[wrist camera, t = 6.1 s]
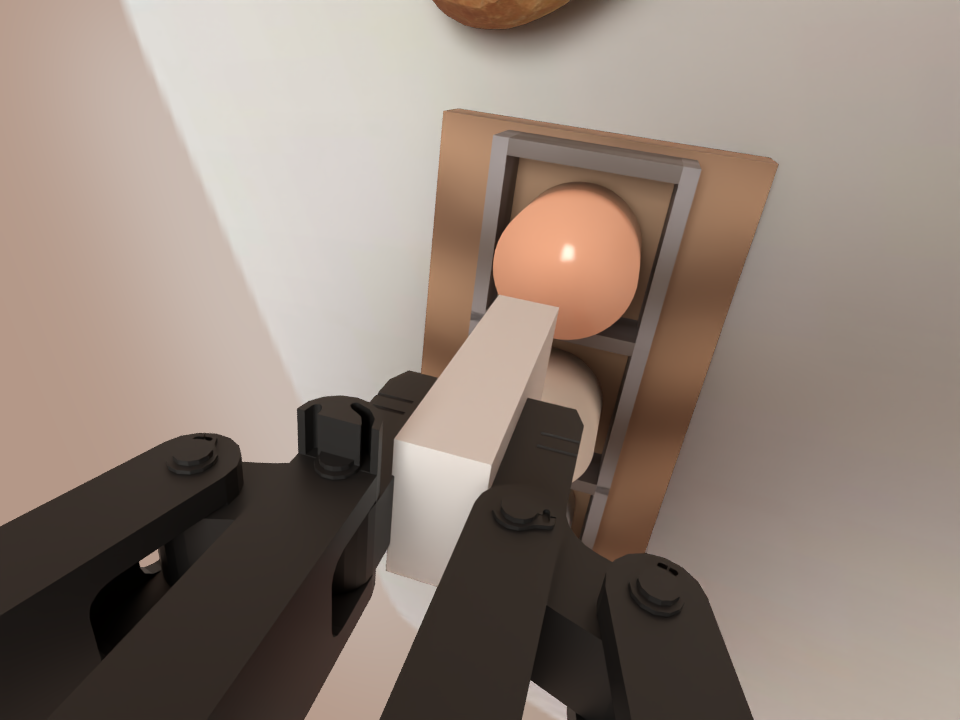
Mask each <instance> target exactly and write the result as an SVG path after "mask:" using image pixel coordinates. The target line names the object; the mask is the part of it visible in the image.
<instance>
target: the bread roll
mask: <svg viewBox="0 0 960 720" xmlns="http://www.w3.org/2000/svg"><path fill="white" fill-rule="evenodd" d="M433 1H434V3H435V4H436V5H437V7H438V8H439V9H440V10H441V11H443V12H444V13H445V14H446V15H447V16H449V17H451V18H453V19H454V20H456V21H458V22H460V23H462V24H464V25H467V26H470V27H475V28H482V29H508V28H512V27H516V26H520V25H523V24H526V23H529V22H531V21H533V20H536V19H538V18H541V17H543V16H545V15H547V14H550V13H551V12H553V11H555V10H556V9H558V8H560V7H561V6H563V5H565V4H566V3H568V2H569V1H571V0H433Z"/></svg>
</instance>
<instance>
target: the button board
mask: <svg viewBox="0 0 960 720" xmlns="http://www.w3.org/2000/svg"><path fill="white" fill-rule="evenodd" d="M778 165H779V164H777V163H776V162H775V161H773V160H772V159H771V158H768V157H762V156H756V155H749V154H743V153H737V152H730V151H724V150H718V149H711V148H705V147H699V146H692V145H686V144H680V143H673V142H667V141H661V140H654V139H648V138H642V137H635V136H629V135H623V134H616V133H610V132H604V131H597V130H591V129H585V128H578V127H572V126H566V125H559V124H553V123H547V122H540V121H534V120H528V119H521V118H515V117H509V116H502V115H496V114H489V113H483V112H477V111H470V110H464V109H453V110H447V111H443V122H442V134H441V145H440V157H439V169H438V181H437V192H436V204H435V216H434V228H433V239H432V251H431V263H430V275H429V286H428V298H427V310H426V321H425V333H424V345H423V357H422V368H421V374H425V375H429V376H433V377H437V378H439V377H440V375H441V374H442V372H443V371H444V370H445V368H446V367H447V366H448V364H449V363H450V361H451V360H452V359H453V357H454V356H455V355H456V353H457V352H458V350H459V349H460V348H461V346H462V345H463V344H464V342H465V341H466V339H467V338H468V337H469V335H470V334H471V333H472V331H473V330H474V328H475V327H476V326H477V324H478V323H479V322H480V320H481V319H482V317H483V316H484V315H485V313H486V312H487V311H488V309H489V308H490V306H491V305H492V304H493V302H494V301H495V300H496V298H497V297H498V292H497V289H496V286H495V281H494V276H493V260H494V254H495V249H496V247H497V244H498V241H499V239H500V237H501V235H502V233H503V231H504V230H505V229H506V227H507V226H508V224H509V223H510V222H511V221H512V220H513V219H514V218H515V217H516V216H517V215H518V214H519V213H520V212H521V211H522V210H523V209H524V208H525V207H526V206H527V205H528V204H529V203H530V202H532V201H533V200H534V199H535V198H536V197H537V196H538V195H540V194H541V193H542V192H544V191H546V190H547V189H549V188H551V187H554V186H556V185H559V184H562V183H568V182H580V181H581V182H590V183H594V184H598V185H601V186H603V187H606V188H608V189H609V190H611V191H613V192H615V193H616V194H617V195H618V196H620V197H621V198H622V199H623V200H624V201H625V202H626V203H627V204H628V205H629V207H630V208H631V209H632V211H633V213H634V215H635V216H636V218H637V221H638V223H639V226H640V230H641V235H642V253H641V262H640V270H639V278H638V284H637V289H636V292H635V294H634V297H633V299H632V301H631V303H630V305H629V307H628V308H627V310H626V311H625V313H624V314H623V315H622V316H621V317H620V318H619V319H618V320H617V321H616V322H615V323H614V324H612V325H611V326H610V327H608V328H607V329H605V330H604V331H602V332H599V333H597V334H595V335H592V336H589V337H586V338H581V339H573V340H560V339H554V338H553V342H552V347H553V348H558V349H561V350H564V351H566V352H569V353H571V354H573V355H574V356H576V357H578V358H579V359H580V360H582V361H583V362H584V363H585V364H586V365H587V366H588V367H589V368H590V369H591V370H592V372H593V373H594V375H595V376H596V378H597V380H598V382H599V384H600V388H601V391H602V409H601V415H600V420H599V426H598V431H597V436H596V442H595V447H594V453H593V457H592V460H591V462H590V464H589V466H588V468H587V469H586V471H585V472H584V473H583V474H582V475H581V476H580V477H579V478H578V479H576V480H575V481H574V482H572V484H571V489H572V490H573V493H574V497H575V510H574V516H573V520H572V525H571V529H572V531H573V532H574V534H575V535H576V536H577V537H578V538H579V539H580V540H581V541H582V542H583V543H584V544H585V545H586V546H587V547H589V548H590V549H592V550H593V551H595V552H596V553H597V554H599V555H601V556H603V557H605V558H606V559H608V560H610V561H612V562H613V561H614V560H615V559H618V558H620V557H622V556H624V555H626V554H635V553H645V550H646V548H647V545H648V542H649V539H650V536H651V533H652V530H653V527H654V524H655V521H656V519H657V516H658V513H659V510H660V507H661V504H662V501H663V498H664V495H665V492H666V490H667V487H668V484H669V481H670V478H671V475H672V472H673V469H674V466H675V463H676V461H677V458H678V455H679V452H680V449H681V446H682V443H683V440H684V437H685V434H686V432H687V429H688V426H689V423H690V420H691V417H692V414H693V411H694V408H695V405H696V402H697V400H698V397H699V394H700V391H701V388H702V385H703V382H704V379H705V376H706V373H707V371H708V368H709V365H710V362H711V359H712V356H713V353H714V350H715V347H716V344H717V342H718V339H719V336H720V333H721V330H722V327H723V324H724V321H725V318H726V315H727V313H728V310H729V307H730V304H731V301H732V298H733V295H734V292H735V289H736V286H737V284H738V281H739V278H740V275H741V272H742V269H743V266H744V263H745V260H746V257H747V254H748V252H749V249H750V246H751V243H752V240H753V237H754V234H755V231H756V228H757V225H758V223H759V220H760V217H761V214H762V211H763V208H764V205H765V202H766V199H767V196H768V194H769V191H770V188H771V185H772V182H773V179H774V176H775V173H776V170H777V167H778Z"/></svg>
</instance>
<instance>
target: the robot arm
mask: <svg viewBox="0 0 960 720" xmlns="http://www.w3.org/2000/svg"><path fill="white" fill-rule="evenodd" d="M558 311H559V307H555V306H550V305H546V304H541V303H536V302H531V301H527V300H522V299H517V298H513V297H508V296H503V295H498V297H497V298H496V300H495V301H494V302H493V304H492V305H491V306H490V308H489V309H488V311H487V312H486V313H485V315H484V316H483V317H482V319H481V320H480V322H479V323H478V324H477V326H476V327H475V328H474V330H473V331H472V333H471V334H470V335H469V337H468V338H467V339H466V341H465V342H464V344H463V345H462V346H461V348H460V349H459V350H458V352H457V353H456V355H455V356H454V357H453V359H452V360H451V361H450V363H449V364H448V366H447V367H446V368H445V370H444V371H443V372H442V374H441V375H440V377H439V378H437V377H433V376H429V375H425V374H421V373H417V372H413V371H407V372H405V373H403V374H400V375H398V376H396V377H394V378H392V379H390V380H389V381H388V382H387V383H386V384H385V385H384V387H383V388H382V389H381V390H380V391H379V392H378V395H376V396H375V397H374V398H373V399H372V400H371V401H370V402H367V401H364V400H362V399H359V398H355V397H348V396H327V397H322V398H318V399H315V400H311V401H308V402H307V403H305V404H304V405H302V406H300V407H299V408H297V421H298V452H299V453H298V454H297V455H296V457H295V458H294V459H293V460H292V461H291V462H290V463H254V462H253V463H252V462H242V457H241V452H240V448H239V445H237V444H236V443H235V442H234V441H233V440H232V439H231V438H228V437H225V436H222V435H218V434H211V433H210V434H209V433H196V434H190V435H183V436H179V437H177V438H174V439H171V440H169V441H166V442H164V443H162V444H160V445H158V446H156V447H154V448H152V449H150V450H148V451H147V452H144V453H142V454H140V455H138V456H136V457H135V458H133V459H131V460H129V461H127V462H125V463H123V464H121V465H119V466H117V467H115V468H113V469H111V470H109V471H107V472H105V473H103V474H102V475H100V476H98V477H96V478H94V479H92V480H90V481H88V482H86V483H84V484H82V485H80V486H78V487H76V488H74V489H72V490H70V491H68V492H67V493H64V494H63V495H61V496H59V497H57V498H55V499H53V500H51V501H49V502H47V503H45V504H43V505H41V506H39V507H37V508H36V509H33V510H31V511H29V512H28V513H26V514H24V515H22V516H20V517H18V518H16V519H14V520H12V521H10V522H8V523H6V524H4V525H2V526H0V720H304V719H305V717H306V715H307V713H308V712H309V710H310V708H311V706H312V704H313V702H314V701H315V699H316V697H317V695H318V693H319V692H320V690H321V688H322V686H323V684H324V682H325V681H326V679H327V677H328V675H329V673H330V671H331V670H332V668H333V666H334V664H335V662H336V660H337V658H338V657H339V655H340V653H341V651H342V649H343V648H344V646H345V644H346V642H347V640H348V638H349V637H350V635H351V633H352V631H353V629H354V628H355V626H356V624H357V622H358V620H359V618H360V617H361V615H362V612H363V611H364V609H365V607H366V606H367V604H368V602H369V600H370V598H371V596H372V593H373V590H374V586H375V574H376V568H377V566H378V564H379V562H380V561H381V559H382V557H383V555H384V554H385V552H386V550H387V561H386V571H388V572H392V573H395V574H398V575H401V576H404V577H408V578H411V579H414V580H417V581H420V582H424V583H427V584H430V585H433V586H436V587H437V589H436V591H435V594H434V596H433V598H432V601H431V603H430V605H429V608H428V610H427V612H426V614H425V617H424V619H423V621H422V624H421V626H420V628H419V630H418V633H417V635H416V637H415V640H414V642H413V644H412V647H411V649H410V651H409V653H408V656H407V658H406V660H405V663H404V665H403V667H402V669H401V672H400V674H399V676H398V679H397V681H396V683H395V685H394V688H393V690H392V692H391V695H390V697H389V699H388V701H387V704H386V706H385V708H384V711H383V713H382V715H381V717H380V720H522V715H523V711H524V706H525V702H526V697H527V692H528V688H529V683H530V680H531V681H533V682H534V683H536V684H537V685H538V686H540V687H541V688H542V689H544V690H545V691H547V692H548V693H549V694H551V695H552V696H554V697H555V698H556V699H558V700H559V701H561V702H562V703H563V704H565V705H566V706H567V719H568V720H754V719H753V717H752V714H751V711H750V709H749V706H748V703H747V701H746V698H745V695H744V693H743V690H742V688H741V685H740V682H739V680H738V677H737V674H736V672H735V669H734V666H733V664H732V661H731V658H730V656H729V653H728V651H727V648H726V645H725V643H724V640H723V637H722V635H721V632H720V629H719V627H718V624H717V622H716V619H715V616H714V614H713V611H712V608H711V606H710V603H709V600H708V598H707V596H706V594H705V593H704V591H703V589H702V588H701V586H700V584H699V583H698V581H697V580H695V579H694V578H693V577H692V576H691V575H690V574H689V573H688V572H687V571H686V570H685V569H683V568H682V567H680V566H678V565H677V564H675V563H673V562H671V561H669V560H667V559H665V558H663V557H659V556H655V555H651V554H647V553H635V554H626V555H624V556H622V557H620V558H618V559H615V560H614V561H613V562H612V561H610V560H608V559H606V558H605V557H603V556H601V555H599V554H597V553H596V552H595V551H593V550H592V549H590V548H589V547H587V546H586V545H585V544H584V543H583V542H582V541H581V540H580V539H579V538H578V537H577V536H576V535H575V534H574V532H573V531H572V529H571V528H570V526H569V523H568V520H567V517H566V512H567V503H568V499H569V494H570V489H571V484H572V480H573V475H574V470H575V466H576V461H577V456H578V452H579V447H580V442H581V438H582V433H583V428H584V425H583V422H582V420H581V418H580V416H579V414H578V412H577V410H576V409H572V408H568V407H564V406H560V405H556V404H552V403H547V402H543V401H541V398H542V393H543V387H544V382H545V377H546V372H547V367H548V362H549V357H550V352H551V347H552V342H553V336H554V331H555V326H556V321H557V316H558ZM157 549H158V552H159V558H160V559H159V560H158V561H157V562H155V563H153V564H151V565H149V566H147V567H140V565H139V561H140V560H142V559H143V558H145V557H146V556H148V555H149V554H151V553H152V552H154V551H155V550H157Z"/></svg>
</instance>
